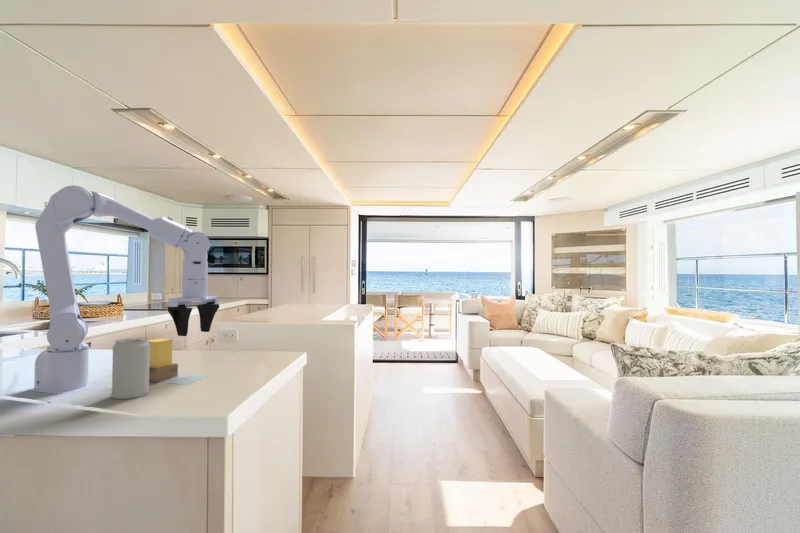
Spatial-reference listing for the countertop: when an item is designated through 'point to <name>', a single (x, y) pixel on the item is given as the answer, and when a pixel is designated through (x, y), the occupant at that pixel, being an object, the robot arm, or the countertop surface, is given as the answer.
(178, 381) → the plate
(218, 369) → the countertop surface
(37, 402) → the countertop surface
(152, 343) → the ochre brick
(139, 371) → the beverage can
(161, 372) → the walnut base brick
